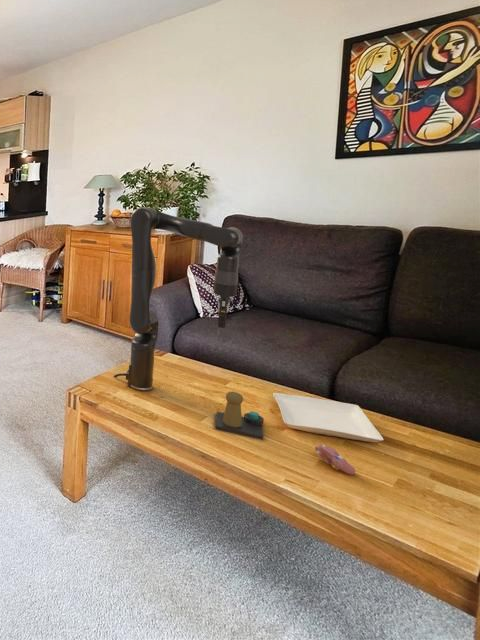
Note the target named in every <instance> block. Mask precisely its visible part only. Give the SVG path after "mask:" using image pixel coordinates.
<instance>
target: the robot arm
mask: <svg viewBox="0 0 480 640" xmlns="http://www.w3.org/2000/svg"><path fill="white" fill-rule="evenodd" d="M129 220H130V221H129V223H130V232H131V233H130V234H131V241H132V242H131V302H130V311H129V327H130V328H131V330H132V332H134V335H133V336H132V338H131V341H130V344H131V345H130V361H129V364H128V369H127V371H126V372H125V373H124V372H123V373H116V374H114V375H113V377H114V378H115V379H116V378H118V377H125V380H126V381H127V387H128V388H131V389H133V390H136V391H140V392H148V391H151V390H153V388H154V387H153V383H154V365H155V364H154V363H155V349H156V343H157V341H158V335H159V334H158V333H159V317H158V314H157V313H156V312H155V310H153V309H150V301H151V297H152V293H153V291H154V287H155V283H156V278H157V275H156V273H157V272H156V271H157V265H156V258H155V254H154V250H153V247H152V230H159V231H166V232H170V233H174V234H176V235H178V236H181V237H185V238H187V239H192V240H195V241H200V242H205V243H209V244H210V245H211V244H212V245H214V246H217V247H220V249H219V254H218V256H217V260H216V268H215V274H214V281H213V283H214V284H213V294H214V295H216V296H220V297H218V299H217V312H218V315H217V316H218V322H217V323H218V325H217V327H218V328H222V329H225V328H226V322H227V318H228V316H227V314H228V313H229V309H230V306H231V299H230V298H229V297H236V296H237V293H238V283H239V267H240V266H239V265H240V255H241V251H242V246H243V239H244V237H243V233H242V231H241V230H240V229H239V228H237V227H221V226H216V225H213V224H212V223H209V222H205V221H200V220H196V219H195V220H194V219H190V218H189V219H188V218H185V217H179V216H175V215H171V214H168V213H165V212H162V211H159V210H158V209H154V208H152V207H149V206H144V207H138V208H136V209H135V210H133V212H131V215H130V219H129Z"/></svg>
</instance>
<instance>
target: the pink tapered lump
mask: <svg viewBox="0 0 480 640" xmlns="http://www.w3.org/2000/svg"><path fill="white" fill-rule="evenodd" d="M314 449H315V453H316V454H317V455H318V456H320V457H321V459H322V460H323V461H324V462H325V463H326V464H327V465H331V467H332V468H333V470H335V471H343V472H344V473H345V474H347V475H355V474H356V469H355V467H354V466H352V465H351V464H350V463H348V461H347V460H346V459H345V457H343V456H342V455H341V454H339V452H338V451H337V450H336V449H335V448H333V447H329V446H327V445H326V444H325V443H324V444H319V445H317V446H315V447H314Z"/></svg>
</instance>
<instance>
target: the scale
mask: <svg viewBox="0 0 480 640" xmlns="http://www.w3.org/2000/svg"><path fill="white" fill-rule="evenodd" d="M224 413H225V412H221V411H216V420H215V430H217V431H222V432H226V433H230V434H235V435H238V436H239V435H240V436H244V437H247V438H248V437H249V438H253V439H256V440H257V439H258V440H260V441H261V440H262V441H263V439H264V433H263V425H264V422H265V421H264V420H265V419H264V417H262V415H259V419H258V420H255V419H251V418H249V412H246V413H244V414H243V416H241V417H242V426H241V427H232V426H228V425H226V424H224V423H223V417H224Z"/></svg>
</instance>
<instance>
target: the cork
mask: <svg viewBox="0 0 480 640" xmlns="http://www.w3.org/2000/svg"><path fill="white" fill-rule="evenodd" d="M225 399H226V405H225V409H224V412H223V413H224V417H223V423H224V424H226V425H228V426H232V427H241V426H242V417H243V416H242V403H243V401H244V398H243V395H242V394H241V393H239V392H236V391H228V392H227V393H226V395H225Z"/></svg>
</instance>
